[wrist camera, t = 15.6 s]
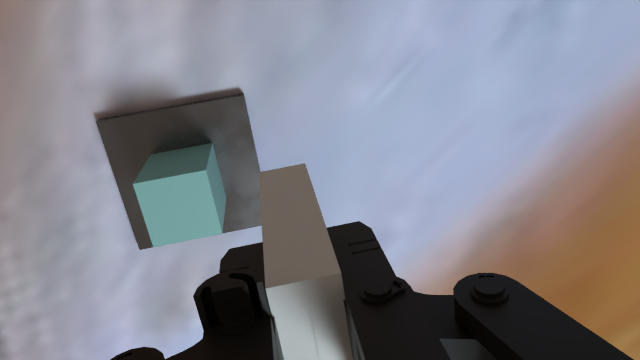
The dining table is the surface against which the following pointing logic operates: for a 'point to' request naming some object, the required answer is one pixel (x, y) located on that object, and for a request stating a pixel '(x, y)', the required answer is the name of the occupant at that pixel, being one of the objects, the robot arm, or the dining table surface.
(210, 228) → the teal block
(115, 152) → the grey square plate
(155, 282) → the dining table surface
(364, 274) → the robot arm
